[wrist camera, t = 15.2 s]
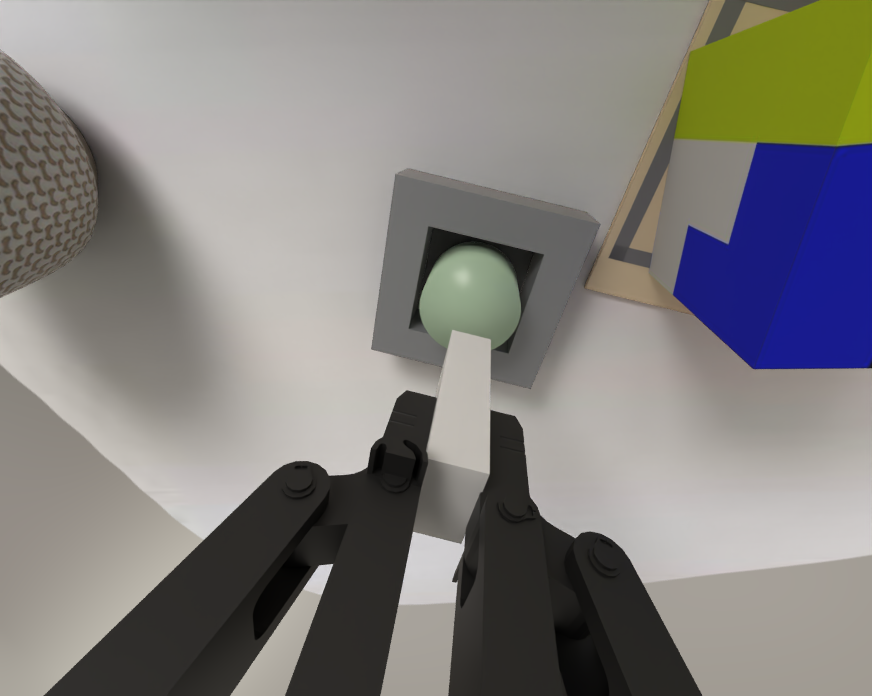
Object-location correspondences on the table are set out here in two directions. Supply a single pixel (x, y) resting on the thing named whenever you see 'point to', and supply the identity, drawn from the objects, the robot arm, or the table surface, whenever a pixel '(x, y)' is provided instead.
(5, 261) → the planter
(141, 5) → the table surface
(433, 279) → the button
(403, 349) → the button box
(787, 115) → the puzzle toy
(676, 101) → the sheet
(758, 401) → the table surface
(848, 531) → the table surface
